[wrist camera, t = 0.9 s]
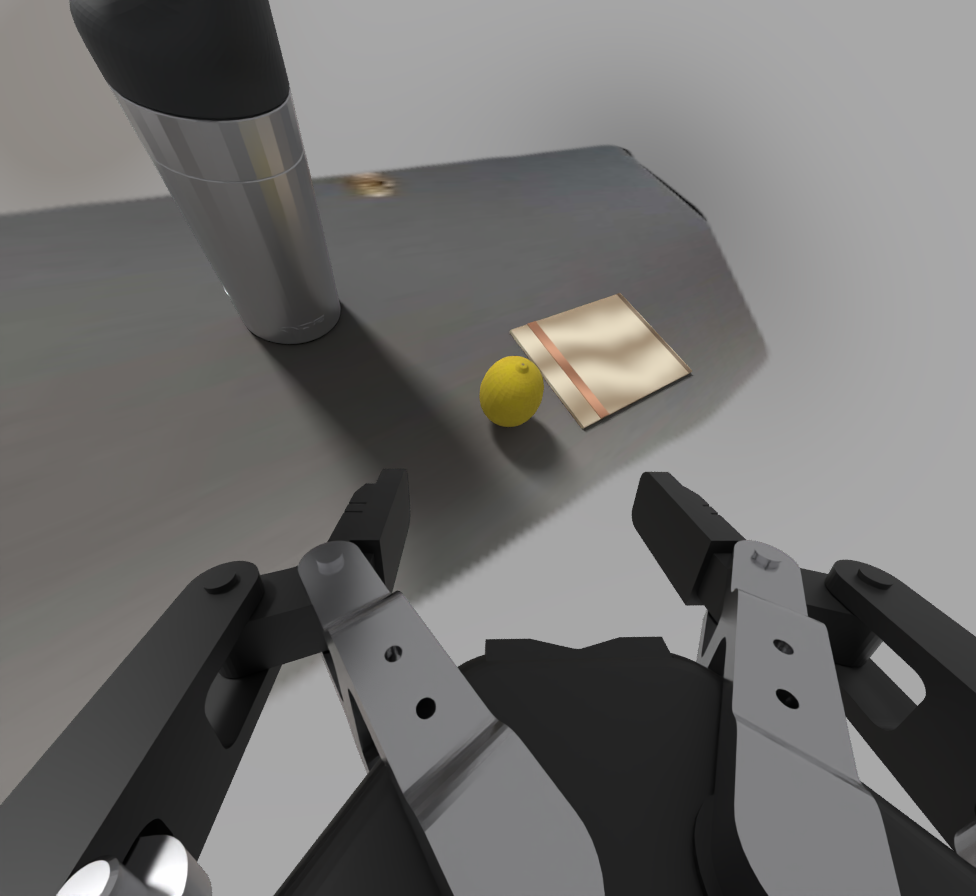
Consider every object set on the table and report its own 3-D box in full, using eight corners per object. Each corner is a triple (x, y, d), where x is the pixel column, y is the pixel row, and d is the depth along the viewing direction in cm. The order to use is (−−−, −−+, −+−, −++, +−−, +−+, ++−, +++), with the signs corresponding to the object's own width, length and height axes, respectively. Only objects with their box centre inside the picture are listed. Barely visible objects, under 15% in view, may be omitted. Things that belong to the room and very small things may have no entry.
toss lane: (509, 332, 40) (510, 329, 40) (618, 295, 47) (620, 292, 46) (582, 429, 36) (584, 426, 36) (690, 373, 43) (693, 370, 42)
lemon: (531, 402, 36) (560, 349, 29) (522, 447, 34) (551, 402, 27) (480, 386, 36) (496, 329, 29) (467, 431, 33) (482, 381, 26)
